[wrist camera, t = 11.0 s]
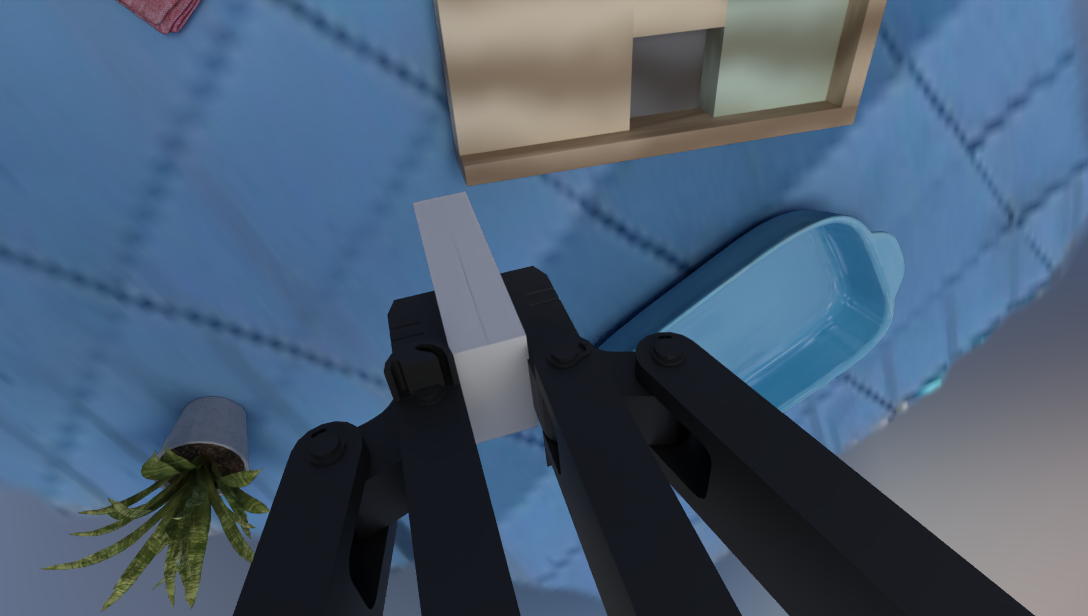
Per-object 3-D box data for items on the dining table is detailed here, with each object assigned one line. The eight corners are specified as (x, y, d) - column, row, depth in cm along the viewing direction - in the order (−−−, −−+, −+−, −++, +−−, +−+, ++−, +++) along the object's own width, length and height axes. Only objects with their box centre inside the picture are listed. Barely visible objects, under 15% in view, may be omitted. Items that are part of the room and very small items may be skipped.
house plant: (64, 385, 47) (-43, 571, 34) (229, 326, 48) (186, 486, 35) (175, 483, 56) (123, 659, 43) (312, 431, 57) (302, 590, 44)
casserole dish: (827, 143, 54) (882, 174, 48) (880, 284, 67) (928, 320, 61) (520, 374, 60) (538, 424, 54) (624, 460, 74) (647, 507, 68)
